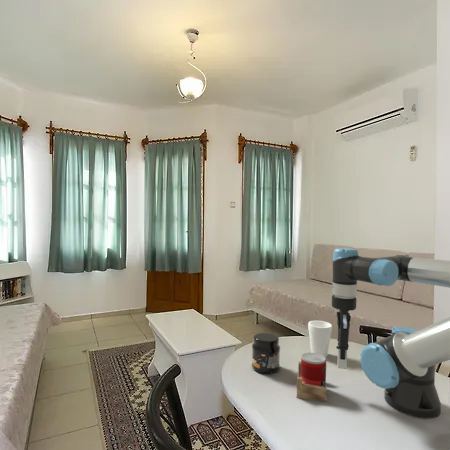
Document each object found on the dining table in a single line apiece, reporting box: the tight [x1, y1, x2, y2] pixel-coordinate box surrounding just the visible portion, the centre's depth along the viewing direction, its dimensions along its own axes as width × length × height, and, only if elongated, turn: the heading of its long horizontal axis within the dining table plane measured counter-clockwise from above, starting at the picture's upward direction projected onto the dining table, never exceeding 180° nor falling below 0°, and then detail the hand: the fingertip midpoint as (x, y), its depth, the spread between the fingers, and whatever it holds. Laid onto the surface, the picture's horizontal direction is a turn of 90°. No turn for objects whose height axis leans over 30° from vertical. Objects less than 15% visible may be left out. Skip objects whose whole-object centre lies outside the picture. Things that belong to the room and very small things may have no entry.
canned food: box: [300, 352, 327, 388], centre depth 109 cm, size 8×8×11 cm
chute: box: [296, 361, 327, 403], centre depth 109 cm, size 9×13×6 cm
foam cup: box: [307, 320, 333, 358], centre depth 136 cm, size 10×9×13 cm
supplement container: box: [251, 332, 281, 375], centre depth 124 cm, size 10×10×12 cm
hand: (341, 367), depth 106 cm, fingers closed
